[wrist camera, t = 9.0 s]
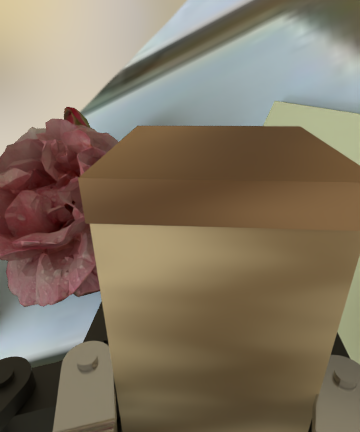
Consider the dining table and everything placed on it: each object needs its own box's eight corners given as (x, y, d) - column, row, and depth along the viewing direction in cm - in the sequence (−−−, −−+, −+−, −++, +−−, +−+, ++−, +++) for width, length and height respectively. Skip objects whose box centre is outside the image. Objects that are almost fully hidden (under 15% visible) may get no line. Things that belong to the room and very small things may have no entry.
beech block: (137, 541, 11) (78, 177, 5) (157, 407, 15) (137, 126, 9) (274, 555, 10) (386, 182, 4) (255, 414, 14) (300, 126, 9)
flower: (21, 342, 25) (-105, 316, 17) (30, 199, 33) (-52, 134, 25) (195, 289, 23) (152, 231, 15) (160, 153, 31) (120, 65, 23)
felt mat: (181, 303, 22) (178, 303, 22) (276, 105, 23) (274, 100, 22) (342, 409, 16) (342, 412, 16) (467, 136, 17) (470, 130, 16)
